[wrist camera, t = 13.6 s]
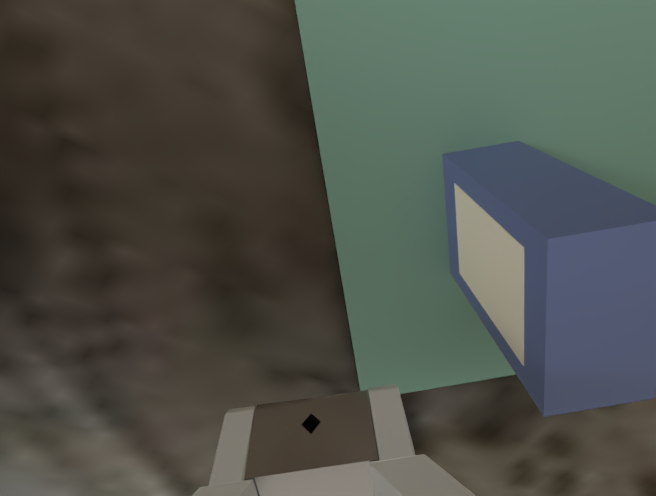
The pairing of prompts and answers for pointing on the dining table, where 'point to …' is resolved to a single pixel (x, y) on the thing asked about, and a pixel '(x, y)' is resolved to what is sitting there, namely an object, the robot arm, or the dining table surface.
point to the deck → (556, 274)
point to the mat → (459, 146)
